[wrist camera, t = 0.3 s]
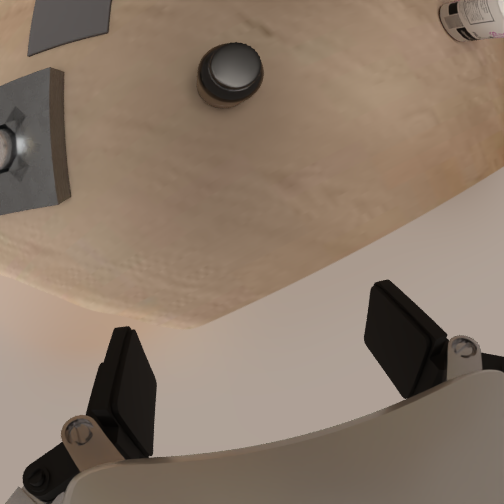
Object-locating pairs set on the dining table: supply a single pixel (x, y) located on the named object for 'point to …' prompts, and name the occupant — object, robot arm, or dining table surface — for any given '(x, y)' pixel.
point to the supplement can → (473, 19)
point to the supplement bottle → (229, 75)
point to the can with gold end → (7, 148)
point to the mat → (66, 22)
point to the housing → (34, 142)
